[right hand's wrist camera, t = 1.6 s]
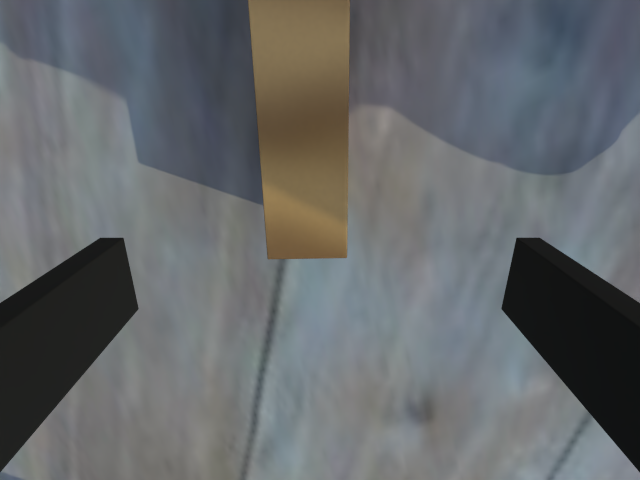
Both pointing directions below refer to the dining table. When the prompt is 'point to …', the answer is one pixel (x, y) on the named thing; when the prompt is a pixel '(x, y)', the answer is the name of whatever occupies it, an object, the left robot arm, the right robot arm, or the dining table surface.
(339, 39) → the bar
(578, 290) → the right robot arm
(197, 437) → the dining table surface
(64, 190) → the dining table surface
